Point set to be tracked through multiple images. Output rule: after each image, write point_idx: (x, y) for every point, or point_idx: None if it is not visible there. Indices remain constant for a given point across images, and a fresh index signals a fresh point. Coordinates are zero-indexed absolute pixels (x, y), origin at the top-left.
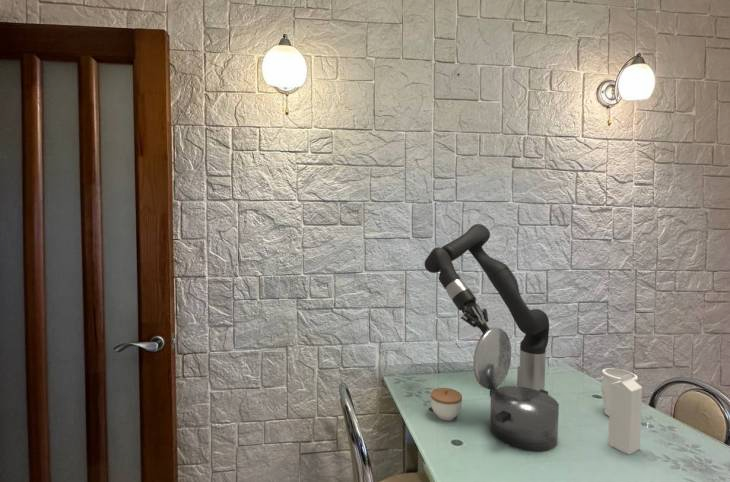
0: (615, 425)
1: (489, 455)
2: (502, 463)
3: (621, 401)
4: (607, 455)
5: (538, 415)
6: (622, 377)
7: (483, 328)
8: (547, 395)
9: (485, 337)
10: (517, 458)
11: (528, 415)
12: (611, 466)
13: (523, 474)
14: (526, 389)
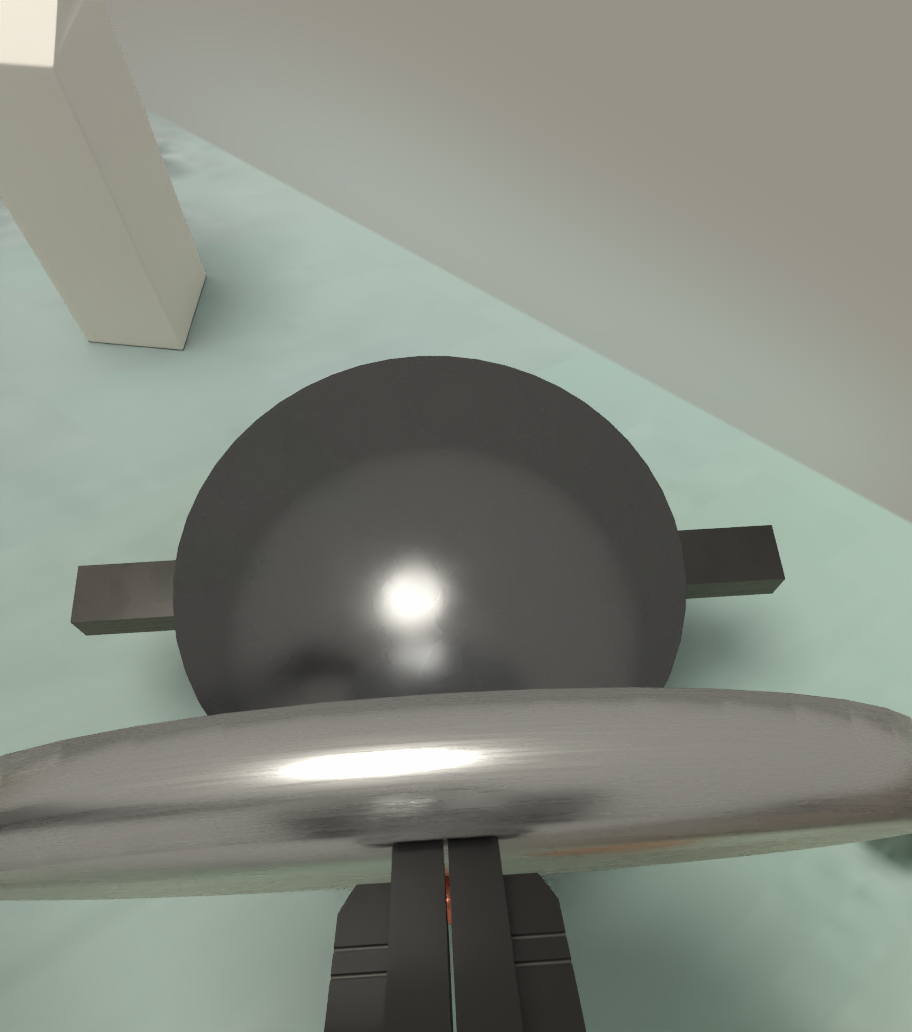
0: (156, 243)
1: (803, 626)
2: (791, 548)
3: (110, 99)
4: (288, 320)
5: (561, 391)
6: None
7: (578, 1000)
8: (208, 498)
9: (815, 700)
10: (685, 529)
11: (612, 430)
12: (366, 284)
13: (764, 450)
14: (226, 652)
